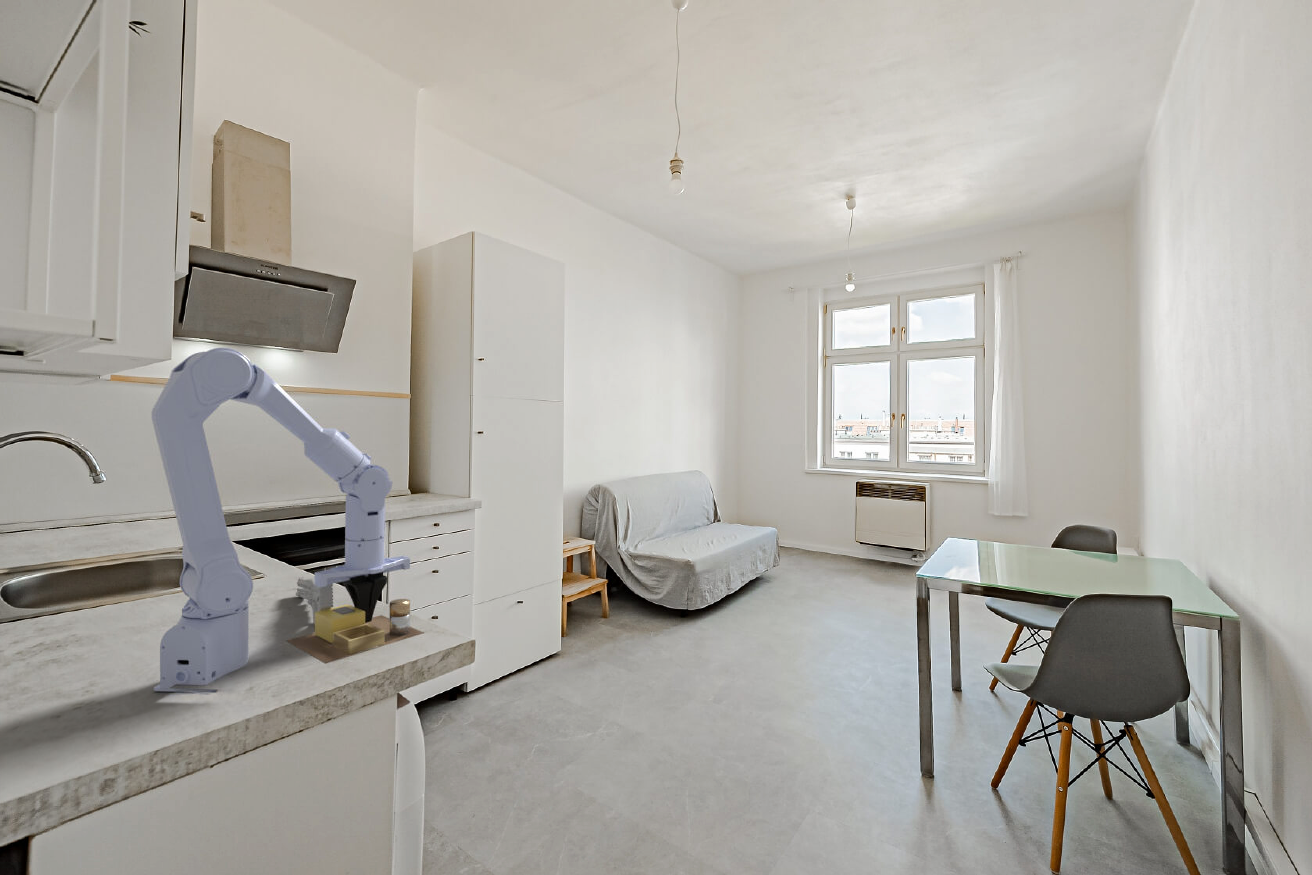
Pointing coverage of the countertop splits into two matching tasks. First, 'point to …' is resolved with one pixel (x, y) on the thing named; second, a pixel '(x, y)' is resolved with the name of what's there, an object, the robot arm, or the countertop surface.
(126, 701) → the countertop surface
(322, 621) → the block
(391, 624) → the silver and brown cylinder
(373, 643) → the board
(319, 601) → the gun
